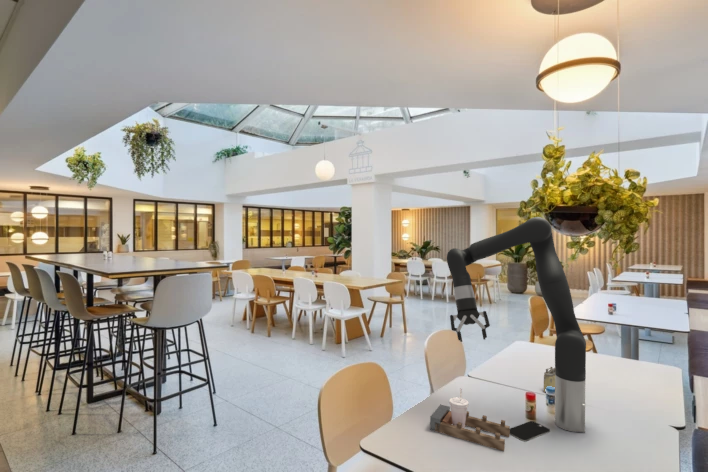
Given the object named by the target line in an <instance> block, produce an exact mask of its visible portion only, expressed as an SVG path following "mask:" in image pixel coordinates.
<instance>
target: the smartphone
mask: <svg viewBox="0 0 708 472" xmlns="http://www.w3.org/2000/svg"><path fill="white" fill-rule="evenodd" d="M550 432H551V429H550V428H549V427H546V426H544V425H542V424H541V423H538V422H536V421H534V420H533V421H532V420H530V421H528V422H525V423H522V424H519V425H515V426H513V427H510V436H512V437H514V438H515V439H517V440H519V441H521V442H525V443H526V442H529V441H530V440H534V439H535V438H538V437H541V436H544V435H546V434H548V433H550Z"/></svg>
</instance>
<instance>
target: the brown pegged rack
mask: <svg viewBox="0 0 708 472" xmlns="http://www.w3.org/2000/svg"><path fill="white" fill-rule="evenodd" d="M487 419H488V417H487V415H482V418H479V417H475V416H471V415H470V411H468V410H467V414H466V421H465V427H466V426H467V427H468V428H474V429H475V430H472V429H468V428H462V423H460V422H458V423H457V426H455V425H453V424H452V415H451V410H450V411H449V412H448V414H447V415H446V416H445V418H444V419H443V420H442V422H441V423H440V425H437V426H436V423H435V426H436V427H435V431H434V432H437V433H439V432H440V433H441V434H444V435H447V436H450V437H454V438H457V439H460V440H464V441H467V442H471V443H474V444H478V445H481V446H484V447H487V448H491V449H494V450H498V451H501V452H505V449H506V448H505V447H506V439H505V438H509V437H510V436H511V435H510V428H511V427H510V426H509V425H507V424H506V420H503V419H501V420H500V423H498V422H495V421H492V420H491V421H490V420H487ZM437 424H438V423H437ZM437 427H438V428H439V429H438V428H437ZM438 430H439V431H438ZM481 431H484V432H488V433H491V434H495V436H494V435H490V434H488V433H487V434H486V433H483V432H481ZM501 436H503V437H505V438H501Z"/></svg>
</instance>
